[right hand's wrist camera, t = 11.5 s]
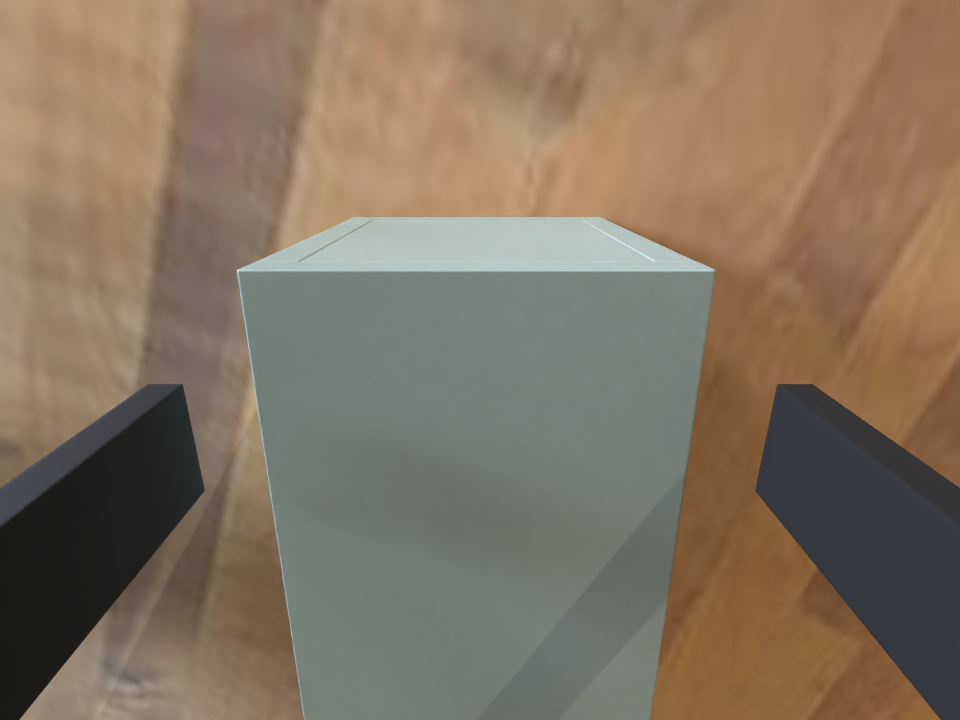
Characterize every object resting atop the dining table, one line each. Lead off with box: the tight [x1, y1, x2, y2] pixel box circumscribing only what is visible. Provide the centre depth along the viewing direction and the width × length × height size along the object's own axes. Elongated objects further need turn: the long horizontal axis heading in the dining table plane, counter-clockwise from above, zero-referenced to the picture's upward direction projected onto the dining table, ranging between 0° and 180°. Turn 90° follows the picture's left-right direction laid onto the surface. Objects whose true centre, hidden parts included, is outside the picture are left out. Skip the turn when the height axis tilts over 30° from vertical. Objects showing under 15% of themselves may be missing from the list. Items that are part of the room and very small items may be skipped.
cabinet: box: [237, 217, 715, 720], centre depth 20 cm, size 17×10×12 cm, turn 0°
